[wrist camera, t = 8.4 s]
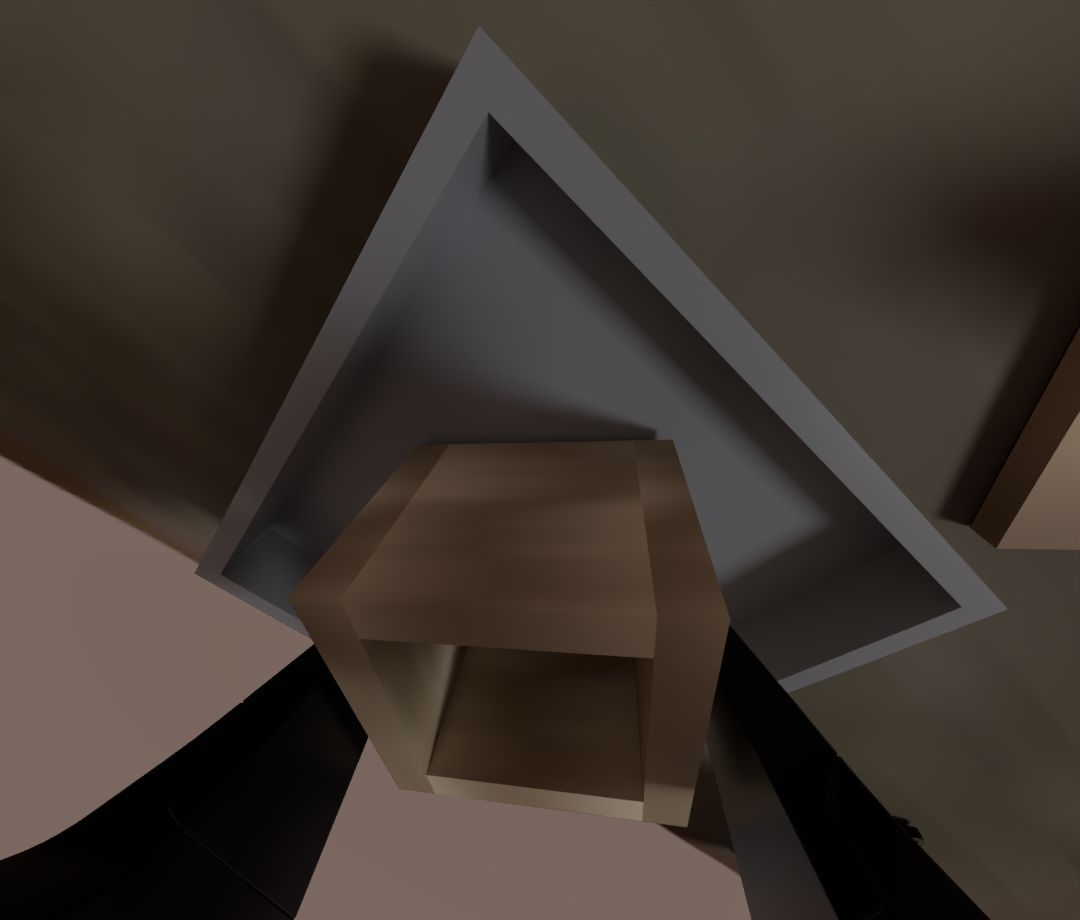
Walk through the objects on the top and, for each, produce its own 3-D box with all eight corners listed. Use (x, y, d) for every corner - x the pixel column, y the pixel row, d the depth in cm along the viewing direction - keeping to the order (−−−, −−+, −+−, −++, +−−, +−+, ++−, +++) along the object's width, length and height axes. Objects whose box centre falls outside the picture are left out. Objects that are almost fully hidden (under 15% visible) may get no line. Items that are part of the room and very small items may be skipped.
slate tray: (925, 532, 11) (1007, 609, 8) (565, 710, 17) (561, 779, 15) (514, 85, 7) (478, 25, 5) (258, 518, 14) (194, 573, 11)
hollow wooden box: (672, 439, 9) (731, 619, 5) (655, 661, 13) (679, 863, 9) (417, 445, 10) (287, 597, 6) (473, 648, 15) (419, 824, 10)
